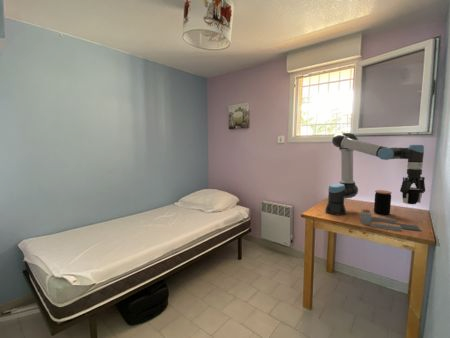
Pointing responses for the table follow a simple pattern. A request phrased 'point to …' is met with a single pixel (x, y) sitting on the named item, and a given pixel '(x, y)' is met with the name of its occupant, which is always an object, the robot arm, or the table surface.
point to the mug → (413, 195)
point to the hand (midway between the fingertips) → (411, 202)
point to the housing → (367, 219)
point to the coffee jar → (382, 202)
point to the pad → (409, 227)
